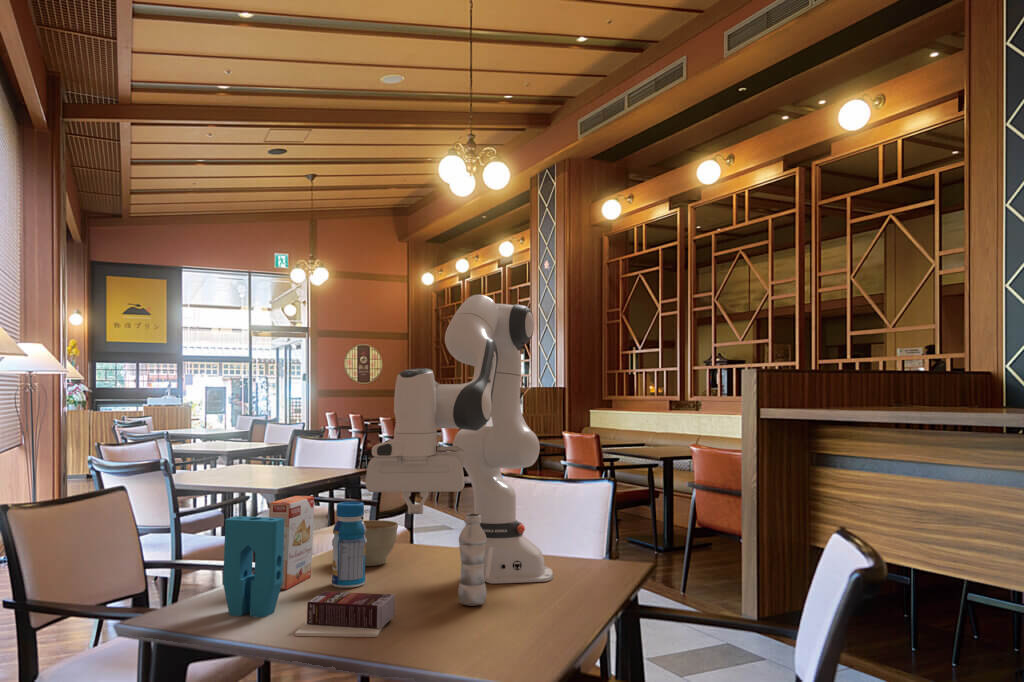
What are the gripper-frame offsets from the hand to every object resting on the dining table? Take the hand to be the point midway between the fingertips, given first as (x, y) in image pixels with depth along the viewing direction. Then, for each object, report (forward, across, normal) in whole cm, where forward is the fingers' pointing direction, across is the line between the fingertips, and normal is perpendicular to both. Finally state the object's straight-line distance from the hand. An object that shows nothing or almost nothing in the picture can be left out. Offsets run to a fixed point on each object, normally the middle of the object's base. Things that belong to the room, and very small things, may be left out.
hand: (415, 513), depth 152 cm
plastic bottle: (+23, -11, -15) cm, 30 cm away
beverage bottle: (+23, +21, -32) cm, 45 cm away
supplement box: (+19, +5, +1) cm, 20 cm away
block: (+22, +36, -7) cm, 43 cm away
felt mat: (+22, +14, +1) cm, 27 cm away
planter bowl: (+24, +21, -56) cm, 65 cm away
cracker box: (+23, +36, -33) cm, 54 cm away
